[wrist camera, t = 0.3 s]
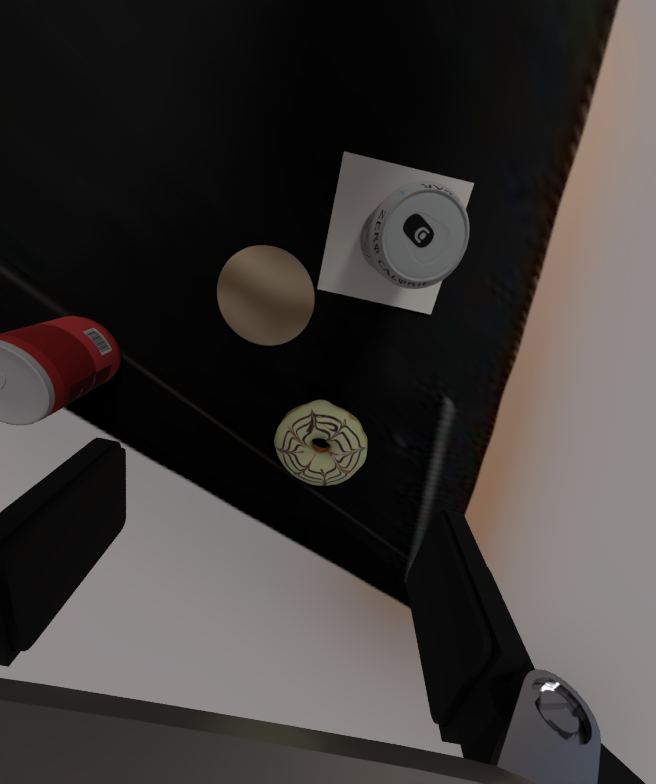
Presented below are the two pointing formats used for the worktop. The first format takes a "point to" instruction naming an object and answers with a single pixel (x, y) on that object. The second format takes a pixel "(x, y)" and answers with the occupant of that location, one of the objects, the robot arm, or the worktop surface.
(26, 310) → the worktop surface
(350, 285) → the tile
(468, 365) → the worktop surface
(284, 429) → the decorated donut
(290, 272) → the cork coaster
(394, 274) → the energy drink can
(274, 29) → the worktop surface
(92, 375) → the canned food
